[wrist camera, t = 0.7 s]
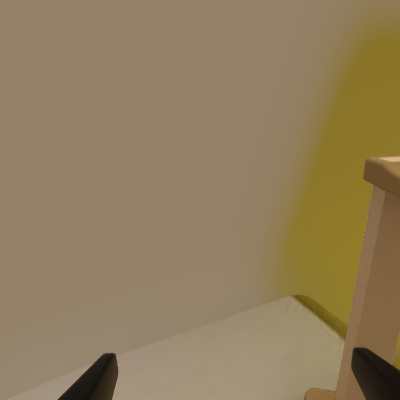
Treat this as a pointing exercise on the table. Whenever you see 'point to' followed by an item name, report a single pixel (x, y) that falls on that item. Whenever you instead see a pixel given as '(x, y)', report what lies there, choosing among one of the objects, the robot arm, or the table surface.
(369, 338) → the headphone stand
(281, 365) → the table surface
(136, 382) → the table surface
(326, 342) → the table surface
